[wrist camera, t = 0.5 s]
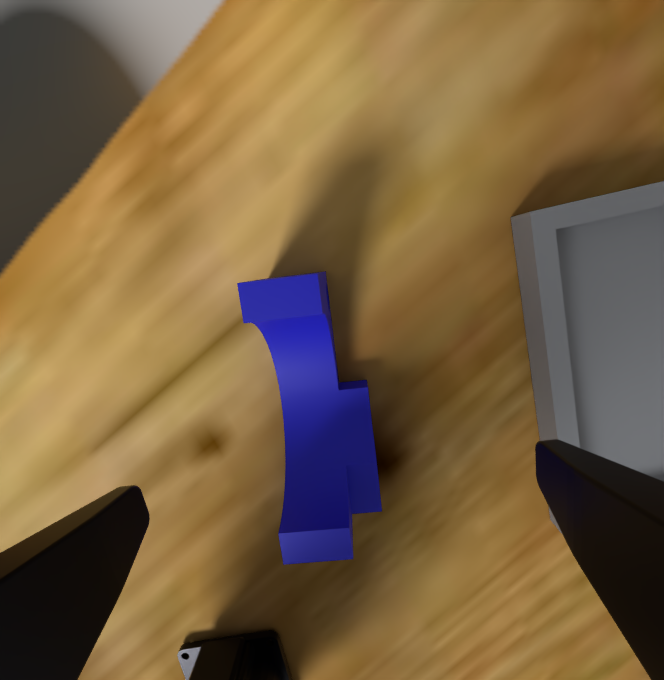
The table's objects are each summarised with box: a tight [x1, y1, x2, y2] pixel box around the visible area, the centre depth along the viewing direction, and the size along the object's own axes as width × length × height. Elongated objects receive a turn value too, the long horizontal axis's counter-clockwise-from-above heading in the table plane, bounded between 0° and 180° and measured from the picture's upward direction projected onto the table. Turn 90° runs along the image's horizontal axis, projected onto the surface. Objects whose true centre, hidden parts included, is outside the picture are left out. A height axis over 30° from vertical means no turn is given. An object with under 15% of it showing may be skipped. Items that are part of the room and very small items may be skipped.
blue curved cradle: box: [237, 271, 382, 565], centre depth 18 cm, size 12×4×6 cm, turn 7°
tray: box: [511, 181, 664, 535], centre depth 19 cm, size 17×9×2 cm, turn 13°
